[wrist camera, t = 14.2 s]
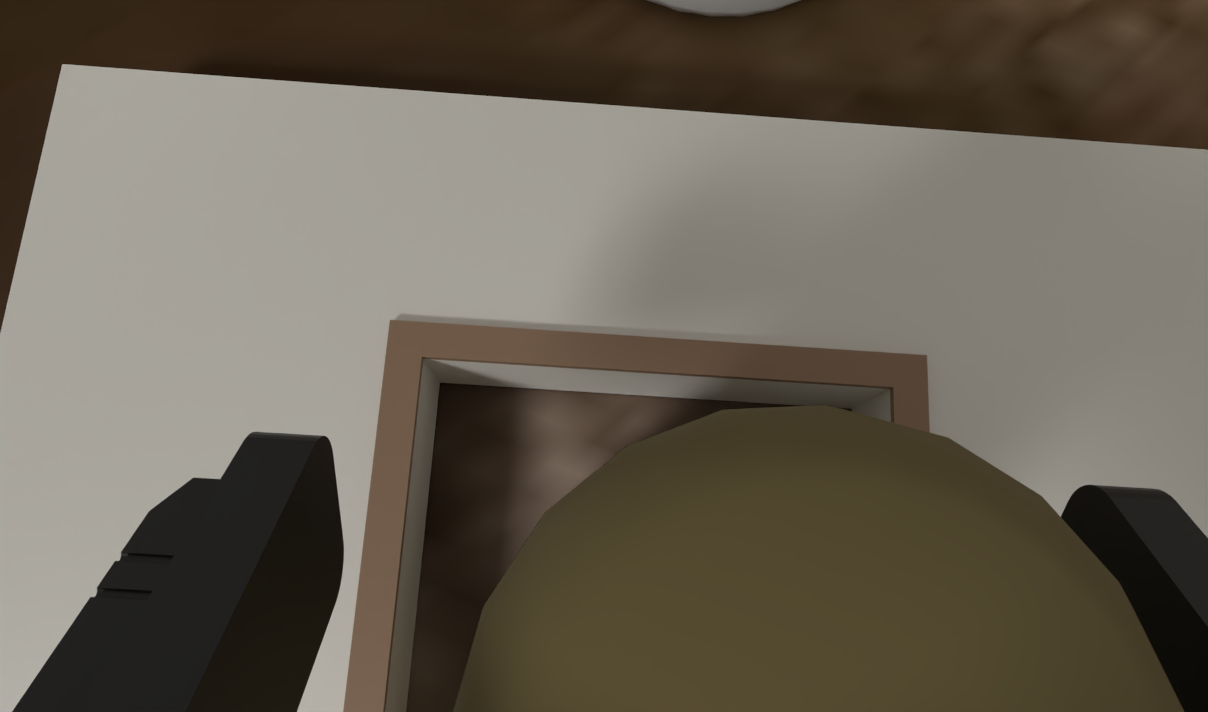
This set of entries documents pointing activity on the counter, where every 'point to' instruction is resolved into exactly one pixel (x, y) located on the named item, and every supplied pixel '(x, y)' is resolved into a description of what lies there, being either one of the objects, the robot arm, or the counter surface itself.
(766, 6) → the milk bottle
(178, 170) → the socket board
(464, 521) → the counter surface
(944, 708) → the cork
